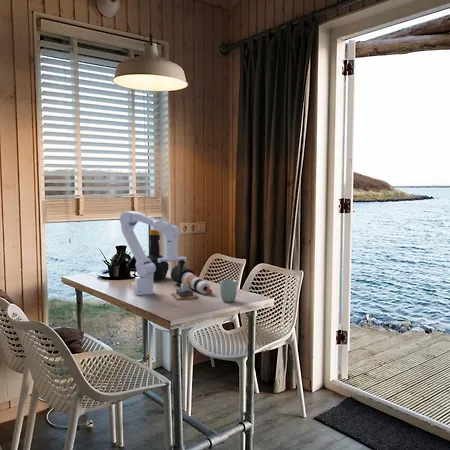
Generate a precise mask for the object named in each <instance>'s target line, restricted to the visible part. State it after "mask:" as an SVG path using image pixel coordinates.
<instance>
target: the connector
mask: <svg viewBox="0 0 450 450" xmlns="http://www.w3.org/2000/svg"><path fill="white" fill-rule="evenodd" d="M180 288H181V291H189V288H190V287H189V285H188V284H187V281H183V283H182V284H181V285H180Z"/></svg>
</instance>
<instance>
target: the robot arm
mask: <svg viewBox="0 0 450 450" xmlns="http://www.w3.org/2000/svg"><path fill="white" fill-rule="evenodd" d="M118 220H119V223H120V227H121V233H122V235H123V237H124V240H126V243H127V244H128V247H129V249H130V250H131V253H132V255H133V257H134V259H135V261H136V262H135V265H134V266H135V268H136V273H137V275H138V276H135V277H134V293H135V294H136V295H137V296H145V295H154V294H155V295H156V292H155V291H154V281H153V275H154V272H155V270H156V266H155V264H154V263H152V262H151V260H150V259H149V258H148V257H147V256H146V253H145V251H144V250H143V247H142V245H141V243H140V242H139V240H138V237H137V235H136V234H135V231H134V229H135V227H136V225H137V224H138V223H139V222H140V223H143V224H146V225H149V226H151V227H152V229H154V230H156V231H159V233H161V234H163V235H164V236H165V239H166V241H165V242H166V243H165V244H166V257H164V258H158V263H160V265H161V267H162V270H163V274H164V276H165V278H166V277H167V274H166V263H165V262H167V263H169V262H171V263H172V262H177V265H178V275H181V272H182V268H183V266H184V265H185V264H186V262H187V257H186V256H179V255H178V254H179V252H178V251H179V250H178V249H179V247H178V246H179V242H178V241H179V239H178V236H179V234H180V228H179V226H178V225H176V224H171V222H170V223H169V222H168V223H167V222H166V221H163V219H160V218H159V219H153V218H152V217H149V216H147V215H146V214H143V213H141V212H139V211H136V210H132V211H122V212H121V214H120V216H119V219H118ZM184 267H185V266H184Z"/></svg>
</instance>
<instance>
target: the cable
mask: <svg viewBox="0 0 450 450" xmlns="http://www.w3.org/2000/svg"><path fill="white" fill-rule="evenodd" d="M170 278H171V280H172V281H173V282H175V283H176V284H178V285H180V286H181V284H182V283H183V281H187V284H188V285H189V288H190V289H191V290H193V291H197V292H199V293H201V294H203V295H206V294H212V293H213V290H212V289H211V286H210V284H209V283H208V282H207V281H205V280H203V279H202V278H200V277H199V276H197V275H196V274H195V272H194V270H191V269H190V268H188V267H186V266H183V268H182V272H181V275H178V264H177V265H175V266H174V267H172V269H171V271H170Z"/></svg>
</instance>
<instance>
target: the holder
mask: <svg viewBox="0 0 450 450" xmlns="http://www.w3.org/2000/svg"><path fill="white" fill-rule="evenodd" d="M170 296H172V297H173V298H174V299H175V300H176V301H181V300H183V301H184V300H194V299H199V296H198V295H197V294H196V293H194V290H193V289H192V288H190V287H189V291H181V287H179V288H176V289H175V292H171V293H170Z"/></svg>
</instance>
